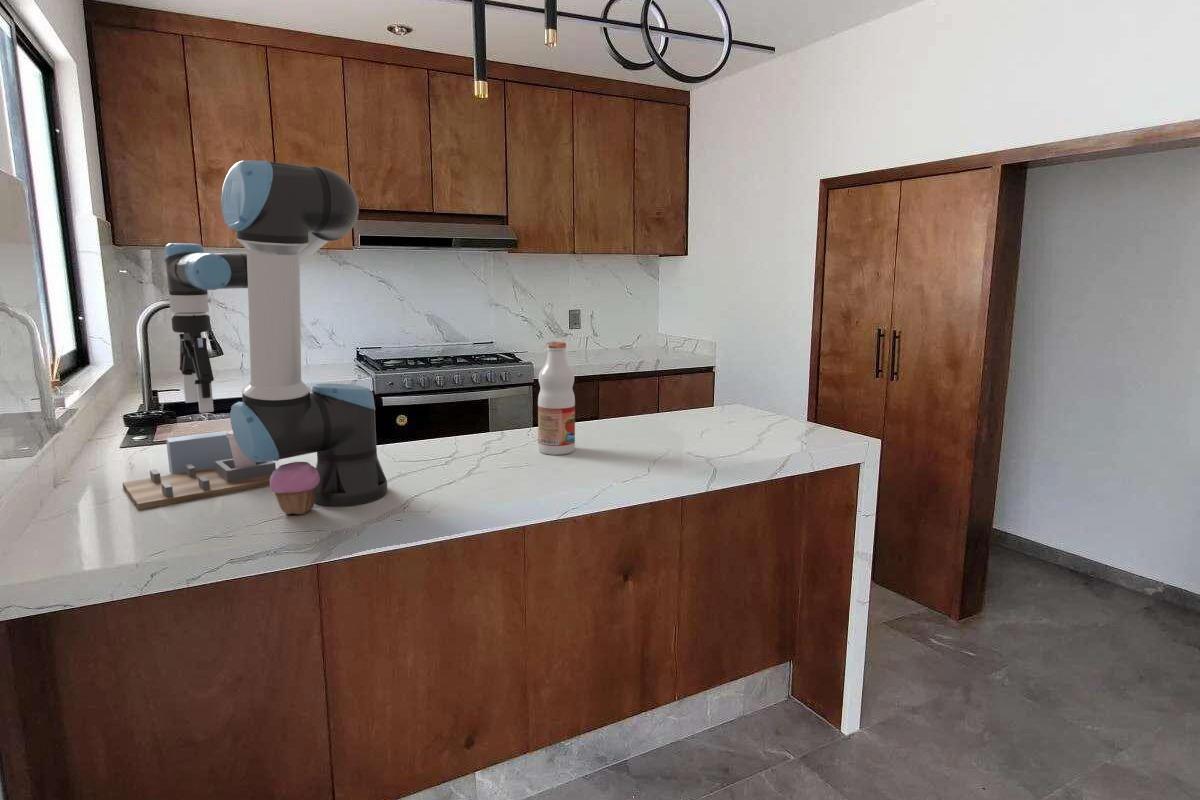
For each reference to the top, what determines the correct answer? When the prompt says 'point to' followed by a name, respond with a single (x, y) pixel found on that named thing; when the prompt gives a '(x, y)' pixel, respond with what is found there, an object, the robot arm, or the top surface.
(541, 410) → the fruit juice
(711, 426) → the top surface
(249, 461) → the smoothie
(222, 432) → the light blue rectangular block
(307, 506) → the cupcake
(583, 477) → the top surface
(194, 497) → the jig board
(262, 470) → the frame
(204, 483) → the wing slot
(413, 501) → the top surface
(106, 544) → the top surface
